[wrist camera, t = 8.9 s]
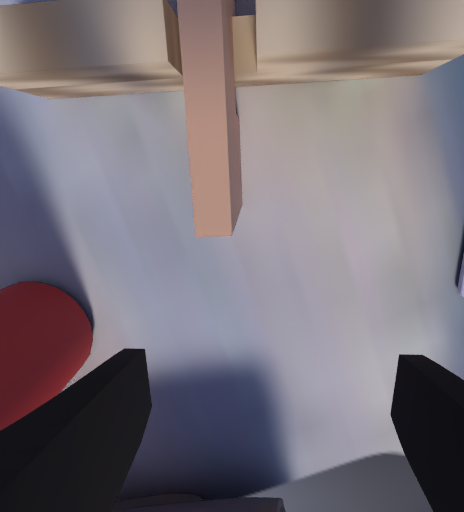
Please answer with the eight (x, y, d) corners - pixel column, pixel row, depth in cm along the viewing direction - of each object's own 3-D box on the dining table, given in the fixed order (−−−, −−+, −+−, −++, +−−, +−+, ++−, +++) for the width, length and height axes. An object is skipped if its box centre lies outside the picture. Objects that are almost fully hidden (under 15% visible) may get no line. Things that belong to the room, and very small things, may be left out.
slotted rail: (427, 23, 14) (512, -43, 9) (421, 74, 15) (498, 36, 10) (40, 54, 16) (-53, 10, 11) (49, 99, 16) (-37, 76, 12)
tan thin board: (232, -80, 14) (207, -303, 7) (242, 204, 17) (232, 236, 11) (204, -77, 14) (153, -294, 7) (219, 205, 17) (195, 237, 11)
